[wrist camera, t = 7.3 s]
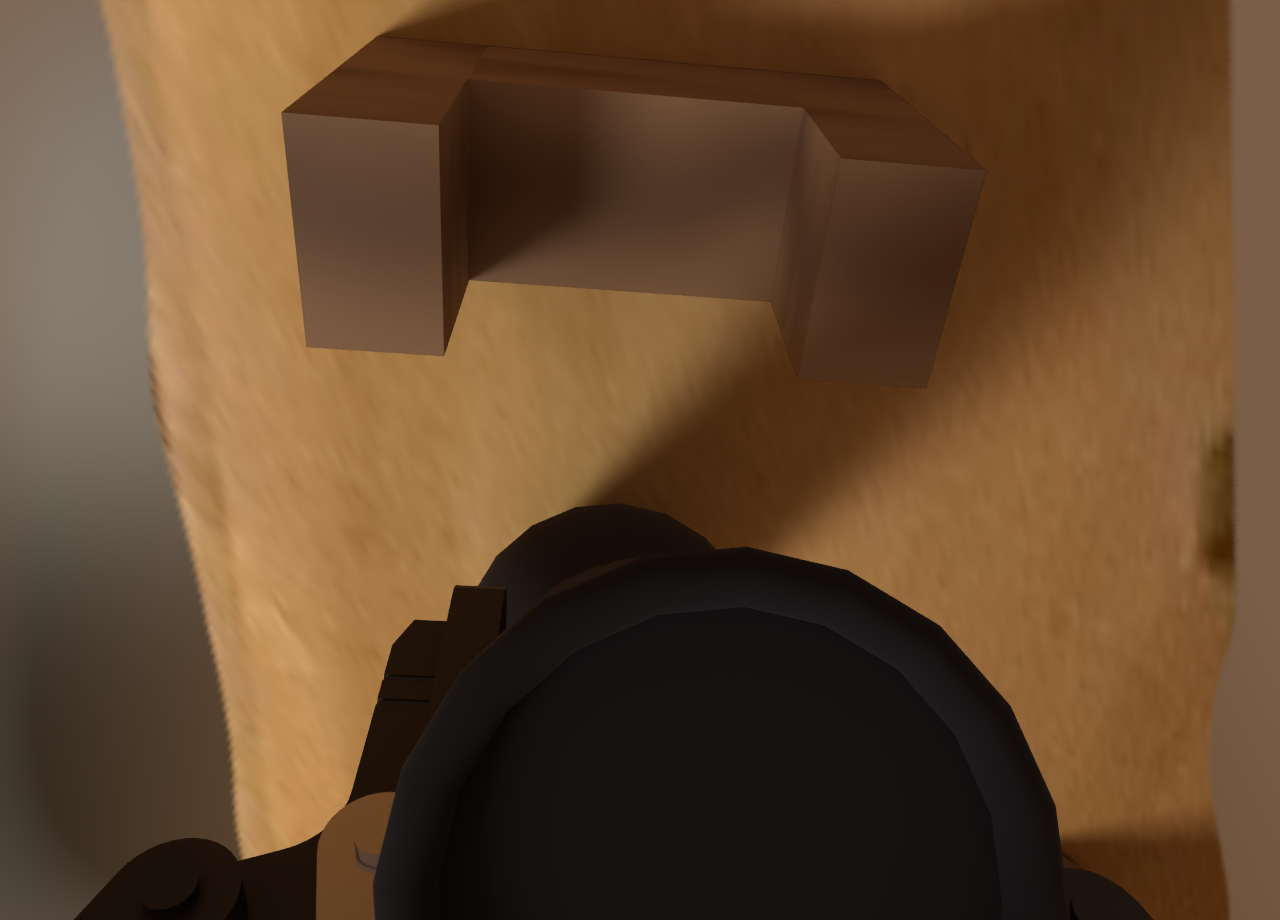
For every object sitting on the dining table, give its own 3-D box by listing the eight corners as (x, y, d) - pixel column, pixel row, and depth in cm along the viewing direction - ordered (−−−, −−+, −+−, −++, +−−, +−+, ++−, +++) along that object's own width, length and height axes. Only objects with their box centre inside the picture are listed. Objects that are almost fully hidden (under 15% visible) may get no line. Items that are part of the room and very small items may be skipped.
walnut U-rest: (845, 251, 30) (926, 388, 22) (386, 216, 29) (306, 347, 21) (881, 80, 27) (986, 170, 20) (376, 36, 26) (281, 112, 19)
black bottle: (545, 502, 35) (414, 148, 5) (708, 568, 35) (1436, 571, 6) (476, 669, 34) (-119, 1315, 5) (643, 735, 35) (1097, 1776, 5)
